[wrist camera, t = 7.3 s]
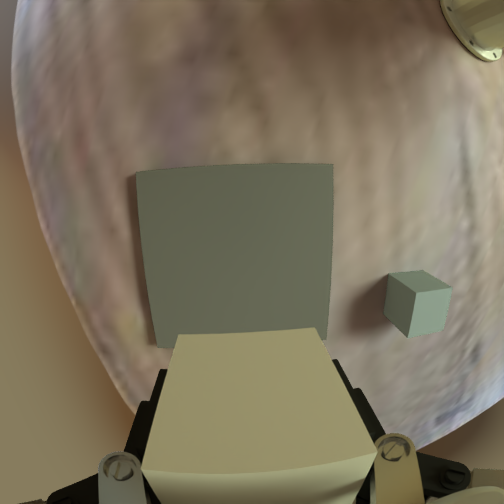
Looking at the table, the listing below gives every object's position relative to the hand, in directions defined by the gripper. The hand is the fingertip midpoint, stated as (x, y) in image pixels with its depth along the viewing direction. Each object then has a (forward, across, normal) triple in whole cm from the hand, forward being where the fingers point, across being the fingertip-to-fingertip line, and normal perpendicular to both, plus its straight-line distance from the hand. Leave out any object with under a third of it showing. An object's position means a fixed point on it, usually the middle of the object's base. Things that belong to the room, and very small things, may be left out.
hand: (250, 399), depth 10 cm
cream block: (+1, 0, 0) cm, 1 cm away
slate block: (+20, -19, +5) cm, 28 cm away
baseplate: (+20, 0, 0) cm, 20 cm away
